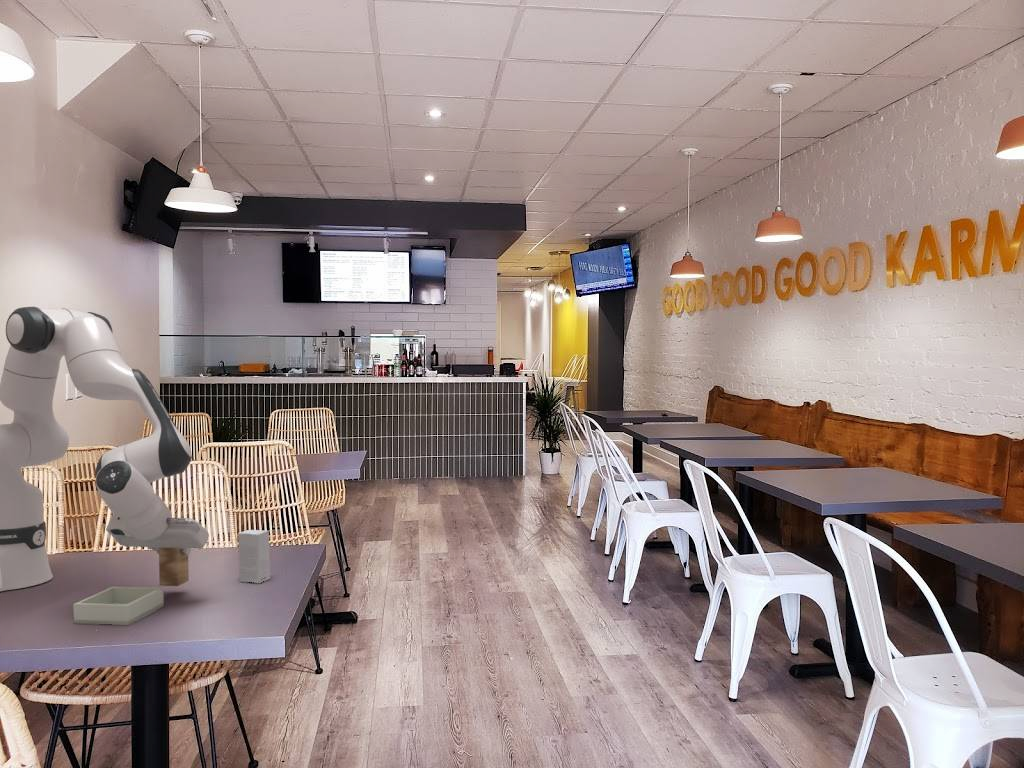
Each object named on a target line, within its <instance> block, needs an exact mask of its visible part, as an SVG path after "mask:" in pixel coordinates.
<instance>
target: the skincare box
mask: <svg viewBox="0 0 1024 768" xmlns="http://www.w3.org/2000/svg"><path fill="white" fill-rule="evenodd" d="M269 532H270V531H269V530H263V529H262V530H260V529H247V530H244V531H240V532H238V533H237V537H238V538H237V539H238V569H239V570H238V571H239V572H238V573H239V574H238V575H239V578H238V579H239V582H240V583H247V582H252V583H251V584H261V582H262V583H264V582H266V581H269V580H270V579H271V562H270V558H271V557H270V536H269V535H270V534H269ZM268 579H269V580H268ZM263 581H264V582H263ZM253 582H254V583H253Z"/></svg>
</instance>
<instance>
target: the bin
mask: <svg viewBox="0 0 1024 768" xmlns="http://www.w3.org/2000/svg"><path fill="white" fill-rule="evenodd" d="M164 598H165V597H164V587H143V586H140V587H139V586H135V587H134V586H110V587H109V588H107V589H104V590H102V591H100V592H97V593H94V594H93V595H91V596H88V597H86V598H84V599H82V600H80V601H78V602H75V603H73V624H76V625H99V624H112V625H111V626H130V625H132V624H134V623H136V622H138V621H140V620H141V619H143V618H145V617H147V616H148V615H150V614H152V613H154V612H156V611H157V610H159V609H161V608H163V607H165V605H164V604H165V603H164V602H165V601H164Z"/></svg>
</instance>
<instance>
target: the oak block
mask: <svg viewBox="0 0 1024 768" xmlns="http://www.w3.org/2000/svg"><path fill="white" fill-rule="evenodd" d="M180 550H181V548H161V547H159V554H158V568H159V570H158V571H159V572H158V574H159V575H158V576H159V586H164V587H179V586H181V585H183V584H185V583H187V582H189V578H190V577H189V575H190V574H189V572H190V571H189V555H182V554H181V553H180Z"/></svg>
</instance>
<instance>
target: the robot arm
mask: <svg viewBox="0 0 1024 768" xmlns="http://www.w3.org/2000/svg"><path fill="white" fill-rule="evenodd" d="M5 324H6V325H5V335H6V336H5V337H6V340H7V341H8V343H9V345H10V346H9V348H8V351H7V354H6V357H5V361H4V366H3V370H2V374H1V379H0V402H1V404H2V405H3V406H4V407H5V408H7V409H8V410H11V411H13V420H12V422H11V423H5V424H4V423H3V424H0V592H5V591H10V590H19V589H23V588H29V587H33V586H36V585H41V584H43V583H46V582H48V581H50V580H52V579H53V578H54V575H53V573H52V569H51V567H50V566H51V565H50V562H49V557H48V553H47V548H46V538H47V526H46V521H45V520H44V495H43V492H42V490H41V489H40V488H39V487H38V486H36V485H34V484H32V483H31V482H30V483H29V482H27V481H26V480H25V477H24V476H23V473H22V468H29V467H34V466H35V467H36V466H41V465H45V464H49V463H52V462H55V461H56V460H60V459H61V458H64V456H65V455H66V454H67V451H68V449H69V444H70V439H69V436H68V435H69V434H68V433H67V430H66V429H65V428H64V427H63V426H62V425H61V424H60V423H59V422H58V421H57V420H56V417H55V413H54V411H53V410H54V409H53V401H54V395H55V390H56V385H57V381H58V374H59V370H60V365H61V360H62V358H63V357H64V359H65V360H64V361H65V363H66V366H67V367H66V368H67V371H68V374H69V376H70V379H71V382H72V383H73V386H74V387H75V389H76V390H77V391H78V392H80V393H81V394H82V395H84V396H86V397H89V398H92V399H95V400H101V401H122V400H123V401H132V402H137V403H138V404H139V405H140V407H141V408H142V410H143V412H144V414H145V415H146V418H147V419H148V421H149V424H150V425H151V427H152V429H153V432H152V433H151V434H150V435H148V436H145V437H143V438H140V439H138V440H135V441H131V442H129V443H127V444H126V443H125V444H123V445H120V446H118V447H116V448H112V449H110V450H107V451H106V452H103V454H102V455H101V456H100V458H99V459H98V461H97V464H96V467H95V471H94V472H95V473H94V477H95V480H94V481H95V486H96V489H97V492H98V494H99V495H100V498H101V499H102V500H103V502H104V504H105V505H106V507H107V508H108V509H109V510H110V511H111V512H112V513H113V514H112V516H111V517H110V520H109V521H108V523H107V526H106V528H105V530H106V532H107V533H108V534H110V535H111V537H112V538H113V540H114V541H116V543H117V544H119V545H121V546H124V547H127V548H129V547H133V548H147V549H150V550H152V551H153V552H156V553H157V555H159V547H161V548H181V550H180V553H181V554H182V555H188V556H189V555H190V554H191V551H192V549H197V550H198V549H199V550H201V549H202V550H203V548H204V547H205V546H206V544H207V542H208V540H209V536H210V534H209V532H208V530H206V529H205V527H204V526H203V525H202V524H201V523H200V522H198V521H197V520H196V519H194V518H190V517H173V514H172V511H171V509H170V508H169V507H168V505H167V504H166V503H165V502H164V500H163V499H162V498H161V497H160V496H159V495H158V494H157V493H155V489H154V487H153V486H152V483H155V482H156V481H158V480H159V481H160V480H161V479H165V478H169V477H173V476H177V475H180V474H182V473H184V472H185V471H186V470H187V468H188V466H189V465H190V463H191V461H192V459H193V455H192V449H191V446H190V443H189V442H188V441H187V439H186V438H185V437H184V435H183V434H182V433H181V432H180V430H179V429H178V427H177V425H176V424H175V422H174V421H173V418H172V417H171V415H170V413H169V412H168V410H167V408H166V406H165V404H164V402H163V401H162V400H161V398H160V396H159V394H158V392H157V390H156V389H155V387H154V386H153V384H152V383H151V382H150V380H149V379H148V377H147V376H146V375H145V373H143V372H142V371H141V370H140V369H139V368H131V367H130V366H129V365H128V364H127V363H126V362H125V360H124V358H123V354H122V352H121V348H120V347H119V345H118V341H117V340H116V338H115V336H114V333H113V328H112V324H111V322H110V321H109V320H108V318H106V317H105V316H103V315H101V314H99V313H95V312H92V311H87V312H85V311H82V310H78V309H73V308H72V309H71V308H65V307H63V308H62V307H61V308H58V307H57V308H56V307H55V308H54V307H37V306H25V307H23V306H22V307H18V308H16V309H14V310H13V312H11V314H10V315H9V316H8V318H7V321H6V323H5Z"/></svg>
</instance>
